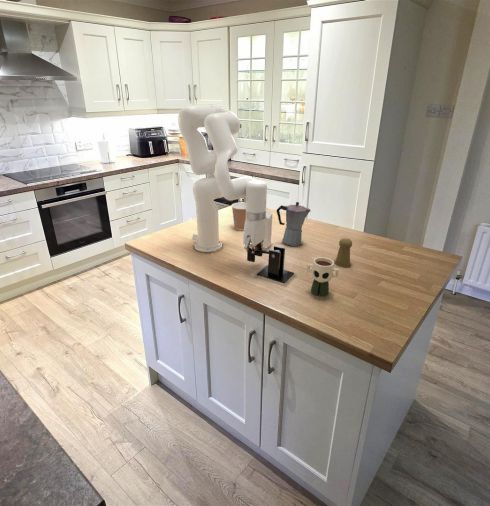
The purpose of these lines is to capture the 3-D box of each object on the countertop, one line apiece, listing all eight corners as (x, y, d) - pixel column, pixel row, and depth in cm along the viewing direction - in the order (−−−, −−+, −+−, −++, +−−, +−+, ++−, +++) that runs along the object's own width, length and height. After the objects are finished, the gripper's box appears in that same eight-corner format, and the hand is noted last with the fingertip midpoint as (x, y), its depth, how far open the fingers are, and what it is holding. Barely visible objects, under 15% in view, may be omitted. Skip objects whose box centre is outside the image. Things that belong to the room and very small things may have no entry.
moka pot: (308, 247, 160) (313, 205, 152) (275, 246, 161) (277, 205, 152) (305, 239, 169) (309, 199, 160) (274, 238, 169) (276, 198, 161)
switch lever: (249, 255, 135) (248, 250, 135) (255, 251, 139) (255, 245, 138) (277, 259, 129) (277, 253, 128) (283, 254, 133) (282, 248, 132)
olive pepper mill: (341, 268, 142) (345, 243, 138) (332, 261, 147) (335, 238, 143) (353, 265, 145) (357, 240, 140) (342, 259, 150) (346, 235, 145)
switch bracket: (256, 277, 135) (257, 249, 130) (267, 267, 142) (268, 241, 137) (284, 285, 129) (286, 257, 124) (294, 275, 136) (296, 248, 131)
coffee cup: (233, 223, 187) (233, 201, 182) (252, 224, 186) (252, 202, 180) (229, 230, 178) (229, 207, 173) (249, 231, 177) (250, 209, 171)
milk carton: (270, 244, 163) (273, 205, 155) (266, 250, 157) (268, 210, 149) (256, 242, 165) (257, 203, 157) (251, 247, 159) (252, 208, 151)
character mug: (302, 295, 123) (305, 263, 118) (306, 286, 129) (309, 254, 124) (333, 302, 120) (338, 269, 114) (336, 292, 126) (341, 260, 120)
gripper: (257, 207, 138) (256, 248, 146) (235, 219, 125) (235, 264, 133) (274, 210, 135) (272, 252, 143) (253, 223, 122) (252, 269, 129)
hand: (254, 258), depth 138 cm, fingers closed on switch lever, 5 cm apart
